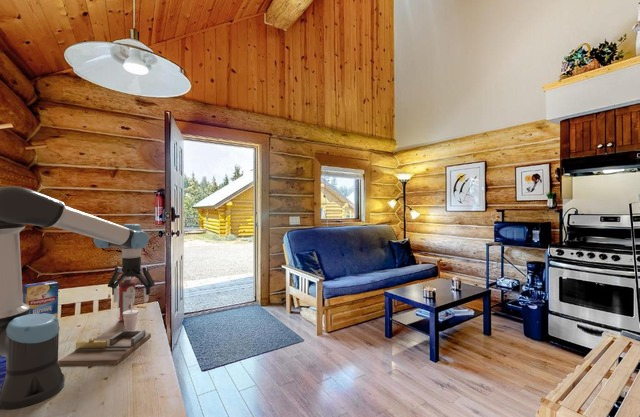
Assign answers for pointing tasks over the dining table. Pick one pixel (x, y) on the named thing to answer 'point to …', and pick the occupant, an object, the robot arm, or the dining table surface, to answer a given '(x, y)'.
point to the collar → (135, 334)
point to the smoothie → (130, 319)
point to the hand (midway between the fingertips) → (131, 301)
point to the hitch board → (103, 352)
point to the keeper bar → (91, 344)
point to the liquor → (126, 295)
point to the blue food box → (41, 297)
